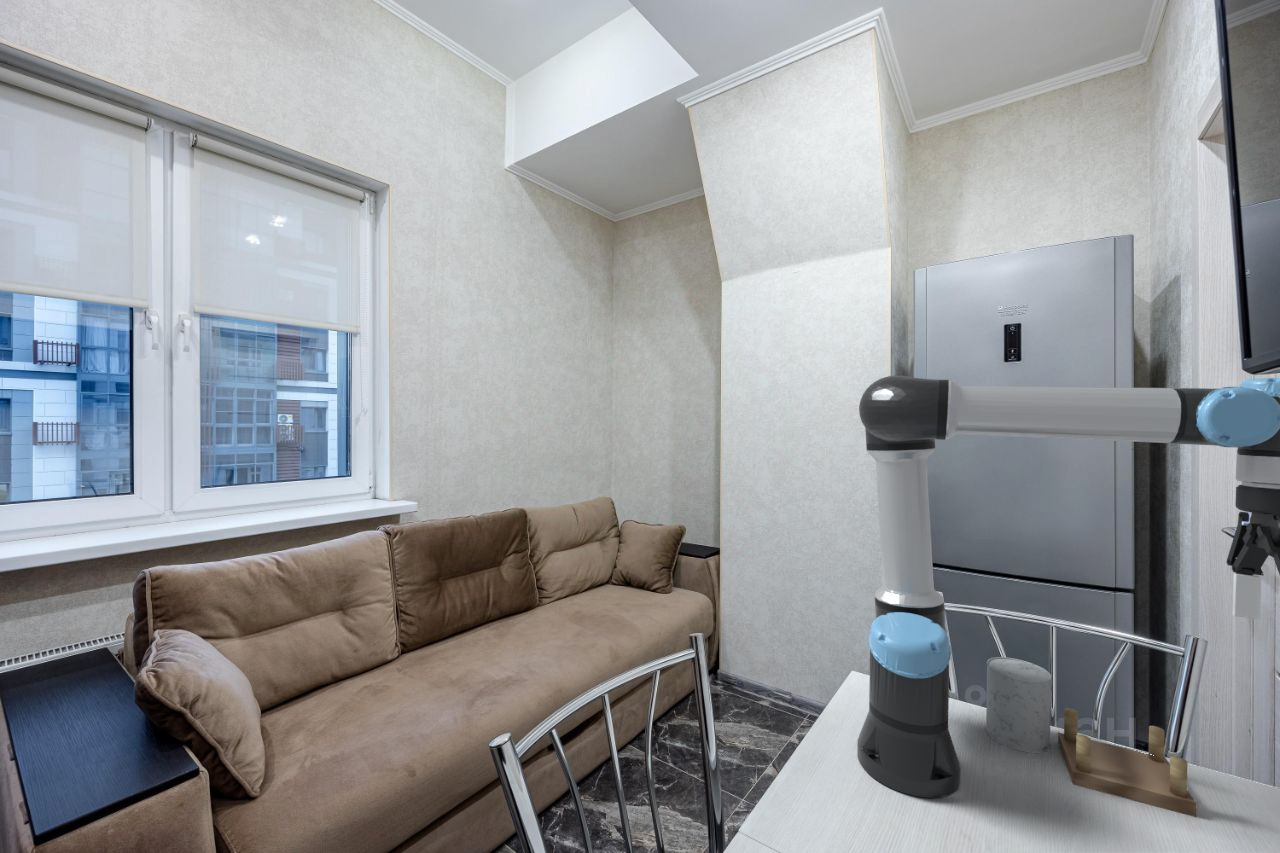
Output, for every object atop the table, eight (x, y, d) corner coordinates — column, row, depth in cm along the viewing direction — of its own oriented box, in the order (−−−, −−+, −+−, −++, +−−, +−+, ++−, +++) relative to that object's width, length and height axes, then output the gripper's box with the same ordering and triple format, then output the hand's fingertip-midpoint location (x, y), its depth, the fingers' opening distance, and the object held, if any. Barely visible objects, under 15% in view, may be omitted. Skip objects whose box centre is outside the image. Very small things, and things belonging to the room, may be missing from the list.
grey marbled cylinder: (1062, 756, 91) (1063, 684, 90) (999, 749, 93) (1000, 678, 92) (1033, 724, 100) (1034, 659, 100) (976, 718, 102) (977, 654, 102)
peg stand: (1073, 784, 84) (1073, 740, 84) (1057, 743, 94) (1058, 704, 94) (1196, 816, 77) (1197, 768, 77) (1164, 769, 87) (1165, 726, 87)
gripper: (1378, 499, 64) (1370, 674, 64) (1266, 479, 86) (1261, 610, 86) (1286, 494, 68) (1280, 660, 68) (1201, 476, 89) (1197, 601, 90)
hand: (1269, 632), depth 77 cm, fingers open, 13 cm apart
